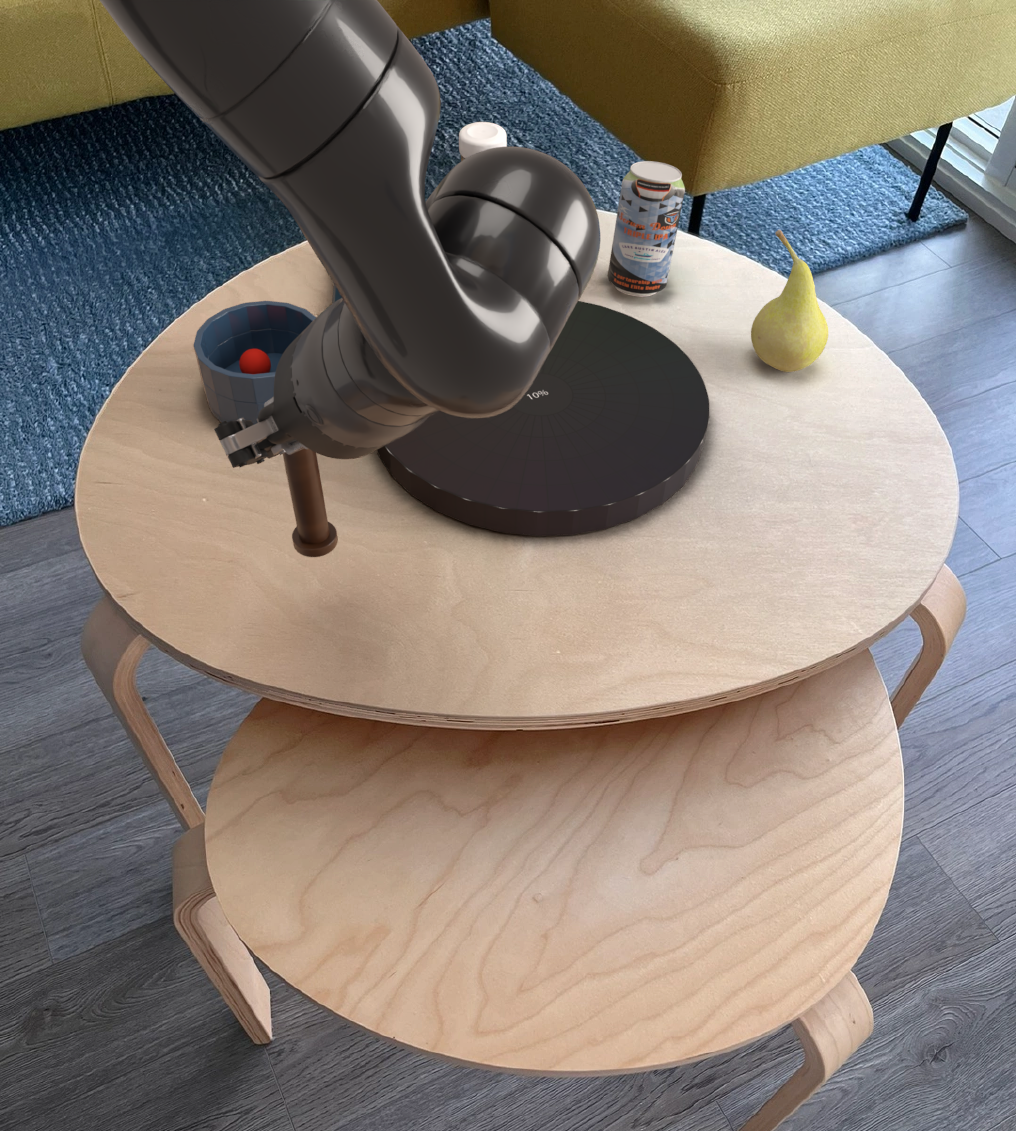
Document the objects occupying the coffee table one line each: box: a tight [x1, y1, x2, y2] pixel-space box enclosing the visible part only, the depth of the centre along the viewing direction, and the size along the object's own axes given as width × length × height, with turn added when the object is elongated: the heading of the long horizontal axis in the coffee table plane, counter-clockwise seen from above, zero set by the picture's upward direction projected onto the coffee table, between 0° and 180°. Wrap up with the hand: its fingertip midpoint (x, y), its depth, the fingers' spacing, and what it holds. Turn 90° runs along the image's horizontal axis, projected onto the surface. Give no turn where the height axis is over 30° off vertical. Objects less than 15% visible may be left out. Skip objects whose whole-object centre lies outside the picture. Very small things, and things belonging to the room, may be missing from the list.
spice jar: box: [458, 121, 508, 162], centre depth 112 cm, size 5×5×13 cm
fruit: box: [750, 229, 829, 373], centre depth 102 cm, size 7×8×12 cm
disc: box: [376, 300, 710, 537], centre depth 100 cm, size 30×30×3 cm
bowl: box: [193, 300, 317, 425], centre depth 100 cm, size 11×11×6 cm
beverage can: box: [607, 160, 686, 298], centre depth 110 cm, size 6×7×12 cm
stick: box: [282, 448, 339, 558], centre depth 76 cm, size 3×3×12 cm
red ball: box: [239, 349, 271, 374], centre depth 102 cm, size 3×3×3 cm
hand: (282, 434), depth 76 cm, fingers closed on stick, 2 cm apart
